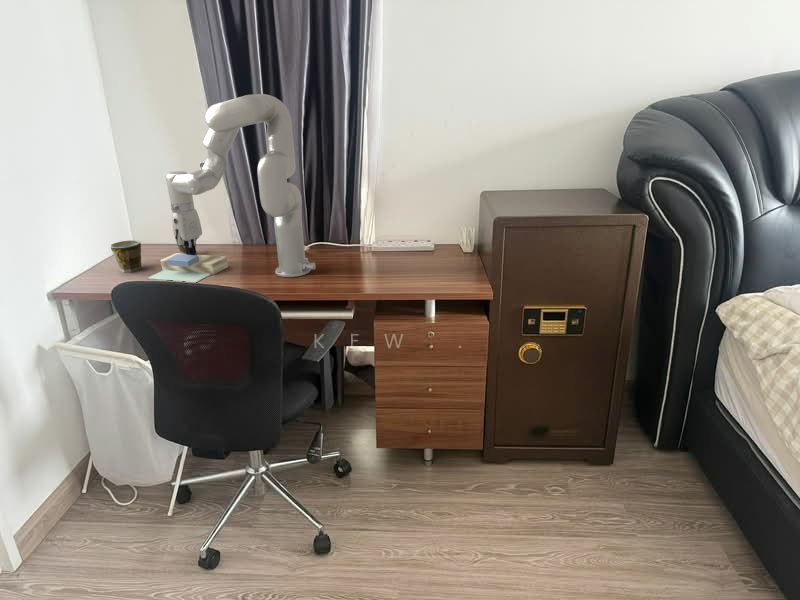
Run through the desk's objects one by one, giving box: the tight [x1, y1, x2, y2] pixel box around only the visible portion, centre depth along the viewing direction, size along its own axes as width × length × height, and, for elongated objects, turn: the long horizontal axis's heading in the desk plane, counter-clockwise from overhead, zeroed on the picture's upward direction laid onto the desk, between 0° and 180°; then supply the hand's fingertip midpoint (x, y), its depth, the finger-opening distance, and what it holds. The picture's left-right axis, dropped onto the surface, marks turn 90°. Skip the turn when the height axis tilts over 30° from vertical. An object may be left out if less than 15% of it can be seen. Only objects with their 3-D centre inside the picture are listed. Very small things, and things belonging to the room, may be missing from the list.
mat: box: [146, 270, 211, 283], centre depth 185 cm, size 20×9×1 cm, turn 74°
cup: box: [175, 239, 197, 254], centre depth 207 cm, size 8×7×8 cm
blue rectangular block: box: [166, 253, 199, 267], centre depth 187 cm, size 9×6×2 cm, turn 73°
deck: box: [160, 252, 229, 276], centre depth 193 cm, size 22×9×4 cm, turn 74°
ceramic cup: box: [109, 239, 142, 273], centre depth 191 cm, size 13×10×10 cm
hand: (191, 256), depth 191 cm, fingers closed
